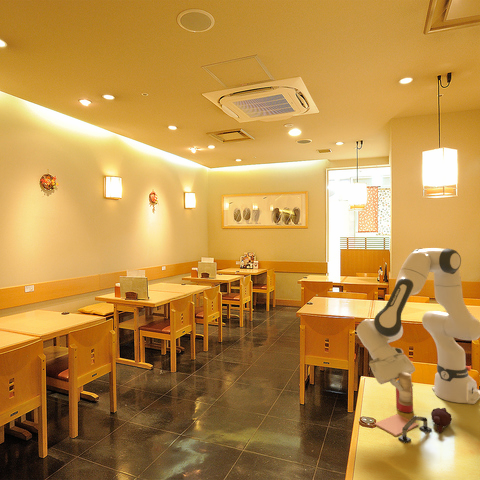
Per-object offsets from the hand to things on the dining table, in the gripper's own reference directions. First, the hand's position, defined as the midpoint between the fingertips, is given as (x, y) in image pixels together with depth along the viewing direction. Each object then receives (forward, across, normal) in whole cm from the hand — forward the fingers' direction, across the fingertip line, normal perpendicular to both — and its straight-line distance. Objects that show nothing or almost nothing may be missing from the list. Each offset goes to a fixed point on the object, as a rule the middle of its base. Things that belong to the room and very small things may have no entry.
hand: (406, 388), depth 132 cm
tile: (+8, 0, +15) cm, 17 cm away
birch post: (+4, 0, +4) cm, 6 cm away
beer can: (+4, +14, +19) cm, 24 cm away
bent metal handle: (+14, 0, +9) cm, 17 cm away
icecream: (+15, +15, +9) cm, 23 cm away
